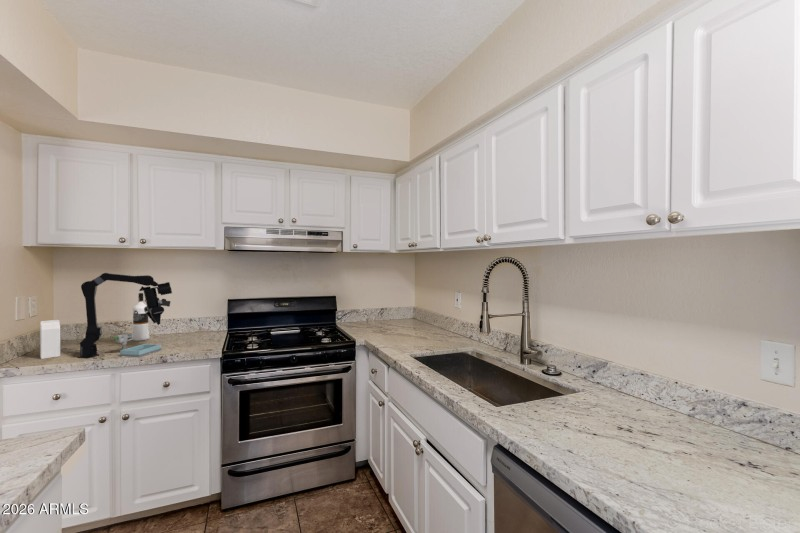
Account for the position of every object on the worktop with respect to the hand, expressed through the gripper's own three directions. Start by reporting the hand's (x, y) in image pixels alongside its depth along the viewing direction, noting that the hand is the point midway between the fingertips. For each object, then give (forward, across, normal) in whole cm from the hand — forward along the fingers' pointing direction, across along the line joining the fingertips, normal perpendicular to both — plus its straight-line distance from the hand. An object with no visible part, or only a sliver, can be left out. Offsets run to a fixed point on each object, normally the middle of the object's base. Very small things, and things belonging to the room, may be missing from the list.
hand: (156, 323), depth 205 cm
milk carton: (+6, +20, +45) cm, 50 cm away
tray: (+13, -4, +11) cm, 17 cm away
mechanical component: (+12, +4, +17) cm, 21 cm away
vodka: (+13, +37, +4) cm, 40 cm away
